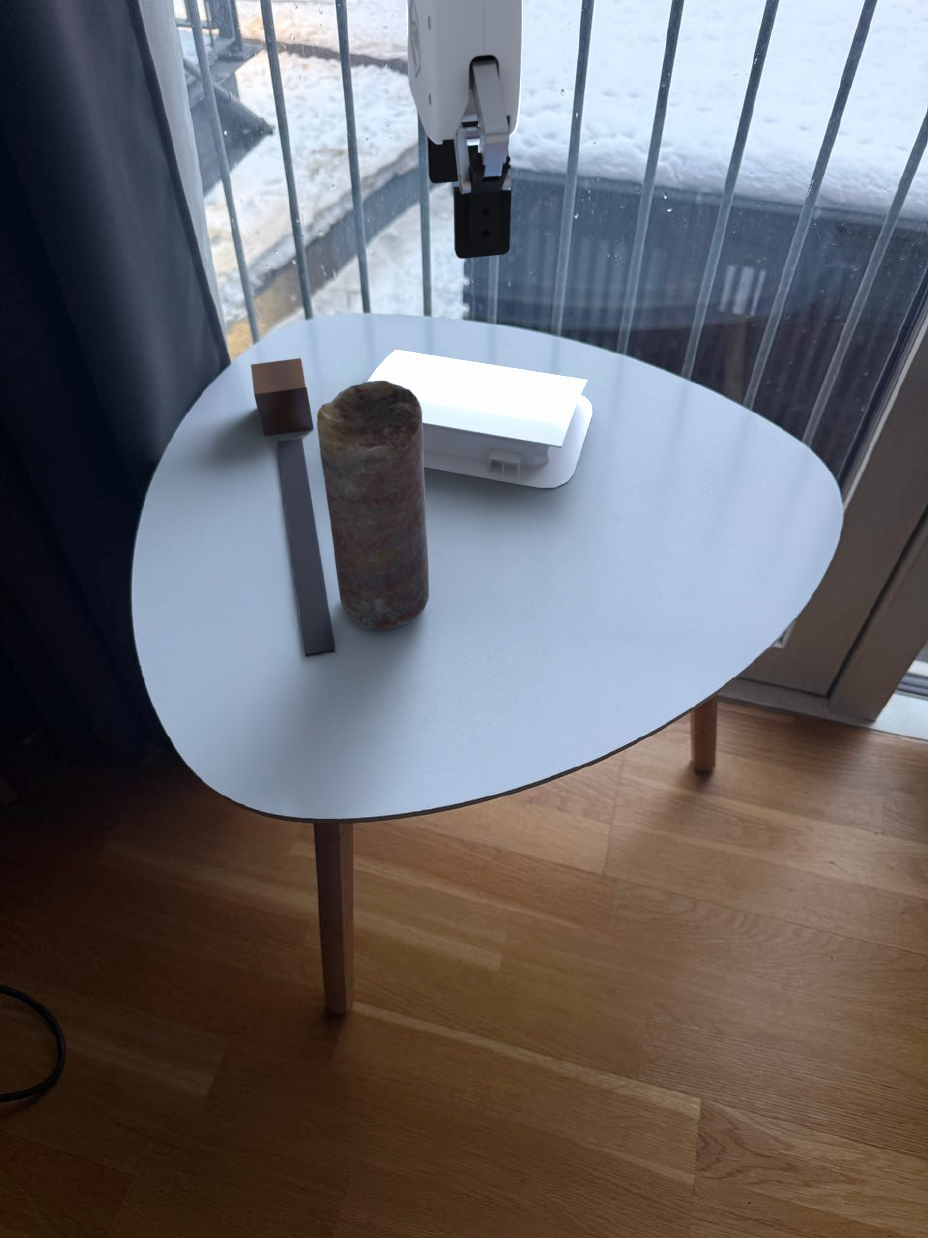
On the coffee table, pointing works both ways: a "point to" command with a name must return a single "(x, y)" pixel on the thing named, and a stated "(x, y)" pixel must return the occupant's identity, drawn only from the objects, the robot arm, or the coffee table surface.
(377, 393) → the brown weathered cylinder
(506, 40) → the robot arm
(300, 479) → the strip
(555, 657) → the coffee table surface
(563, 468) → the white flat lidded device
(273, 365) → the walnut block
